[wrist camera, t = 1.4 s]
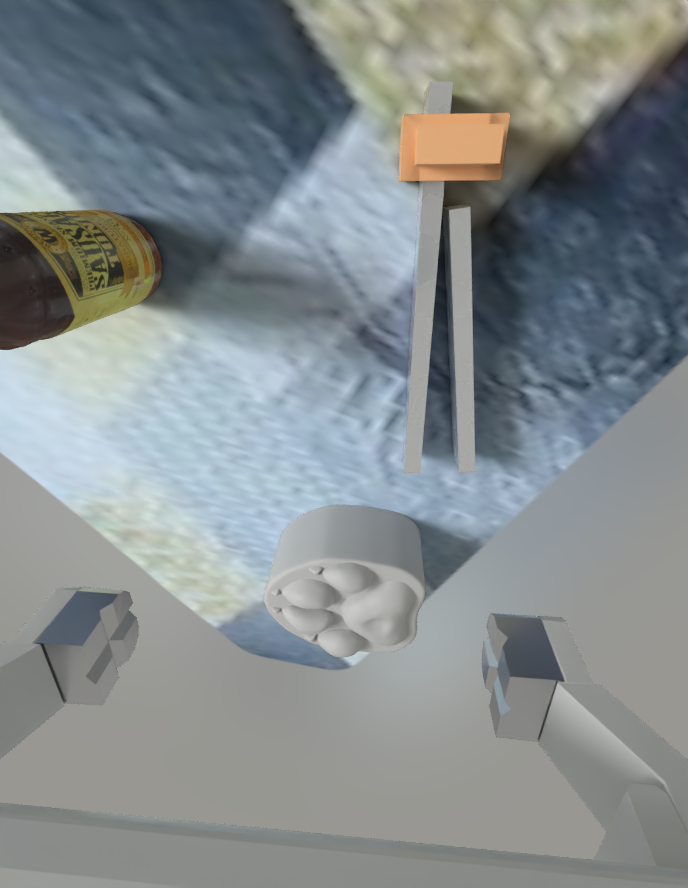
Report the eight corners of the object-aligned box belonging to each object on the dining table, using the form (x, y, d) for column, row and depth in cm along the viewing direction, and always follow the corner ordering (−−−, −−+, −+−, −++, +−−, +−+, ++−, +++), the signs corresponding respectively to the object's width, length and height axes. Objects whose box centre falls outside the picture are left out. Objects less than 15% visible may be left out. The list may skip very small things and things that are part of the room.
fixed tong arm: (424, 93, 28) (429, 81, 25) (445, 93, 28) (452, 81, 25) (402, 450, 39) (404, 473, 36) (417, 450, 39) (420, 473, 36)
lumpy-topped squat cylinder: (407, 596, 47) (412, 674, 40) (278, 581, 48) (259, 656, 40) (425, 512, 42) (434, 584, 35) (280, 496, 43) (258, 563, 35)
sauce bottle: (184, 260, 33) (-33, 342, 16) (133, 320, 36) (-103, 447, 18) (106, 182, 31) (-237, 179, 14) (59, 251, 34) (-287, 320, 16)
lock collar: (401, 124, 28) (405, 107, 22) (493, 122, 28) (522, 105, 22) (398, 181, 30) (402, 180, 24) (485, 180, 30) (512, 179, 23)
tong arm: (442, 207, 31) (449, 210, 27) (461, 204, 30) (470, 206, 27) (453, 450, 39) (459, 473, 36) (468, 449, 39) (475, 471, 36)
